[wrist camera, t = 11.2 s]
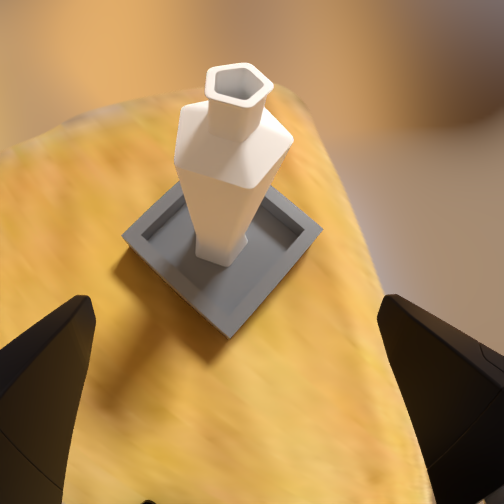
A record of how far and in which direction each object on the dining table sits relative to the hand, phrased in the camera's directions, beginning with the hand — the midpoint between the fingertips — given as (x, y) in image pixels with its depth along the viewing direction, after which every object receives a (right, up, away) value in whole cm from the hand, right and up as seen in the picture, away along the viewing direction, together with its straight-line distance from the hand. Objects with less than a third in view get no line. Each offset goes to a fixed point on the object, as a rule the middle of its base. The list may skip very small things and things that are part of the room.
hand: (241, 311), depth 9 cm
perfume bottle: (-2, +2, +14) cm, 14 cm away
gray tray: (-2, +2, +15) cm, 15 cm away
